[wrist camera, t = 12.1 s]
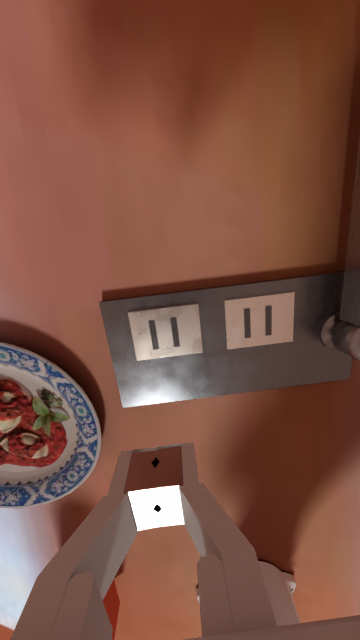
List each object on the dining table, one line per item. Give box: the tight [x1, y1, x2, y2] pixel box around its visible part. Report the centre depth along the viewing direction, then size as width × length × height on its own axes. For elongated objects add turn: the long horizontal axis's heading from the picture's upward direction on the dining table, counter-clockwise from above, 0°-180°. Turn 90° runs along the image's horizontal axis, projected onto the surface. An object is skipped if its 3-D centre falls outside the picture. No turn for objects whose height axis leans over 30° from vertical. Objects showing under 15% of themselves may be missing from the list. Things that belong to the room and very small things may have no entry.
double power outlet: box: [99, 271, 352, 408], centre depth 25 cm, size 14×30×2 cm, turn 97°
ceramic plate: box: [0, 342, 101, 508], centre depth 26 cm, size 26×26×3 cm
